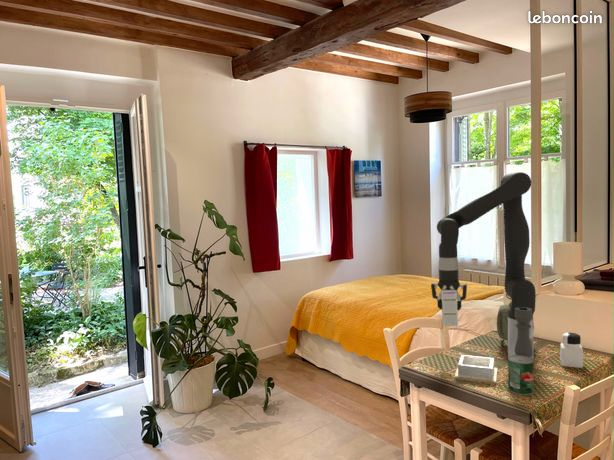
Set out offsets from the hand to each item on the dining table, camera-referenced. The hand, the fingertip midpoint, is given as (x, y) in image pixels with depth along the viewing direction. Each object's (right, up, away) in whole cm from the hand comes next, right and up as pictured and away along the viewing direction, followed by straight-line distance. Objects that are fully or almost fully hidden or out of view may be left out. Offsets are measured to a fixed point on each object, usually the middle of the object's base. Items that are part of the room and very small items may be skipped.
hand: (449, 309), depth 185 cm
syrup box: (0, -6, 0) cm, 6 cm away
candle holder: (+22, -22, -16) cm, 35 cm away
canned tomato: (+16, -23, -29) cm, 40 cm away
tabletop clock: (+34, -20, +16) cm, 42 cm away
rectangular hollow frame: (+6, -22, -13) cm, 26 cm away
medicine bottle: (+46, -20, -6) cm, 50 cm away
